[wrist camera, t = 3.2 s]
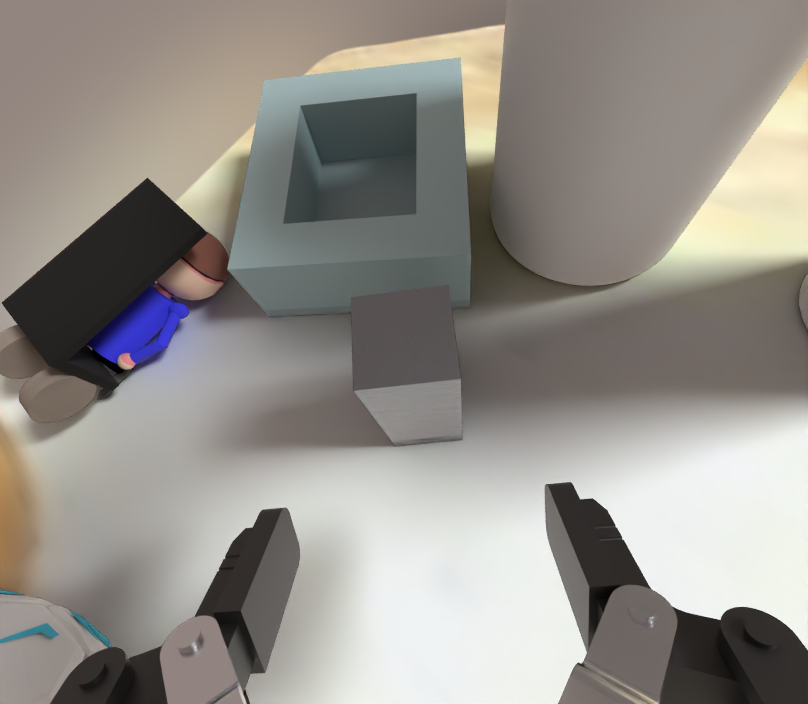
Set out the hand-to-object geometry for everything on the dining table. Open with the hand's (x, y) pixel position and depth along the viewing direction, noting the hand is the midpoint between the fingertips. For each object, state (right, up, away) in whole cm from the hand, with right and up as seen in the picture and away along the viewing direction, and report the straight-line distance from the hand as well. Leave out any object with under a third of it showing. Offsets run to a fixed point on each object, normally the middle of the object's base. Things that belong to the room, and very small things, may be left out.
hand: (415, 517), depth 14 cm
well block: (-3, +15, +20) cm, 25 cm away
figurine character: (-18, +6, +18) cm, 27 cm away
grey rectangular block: (+1, +2, +13) cm, 14 cm away
